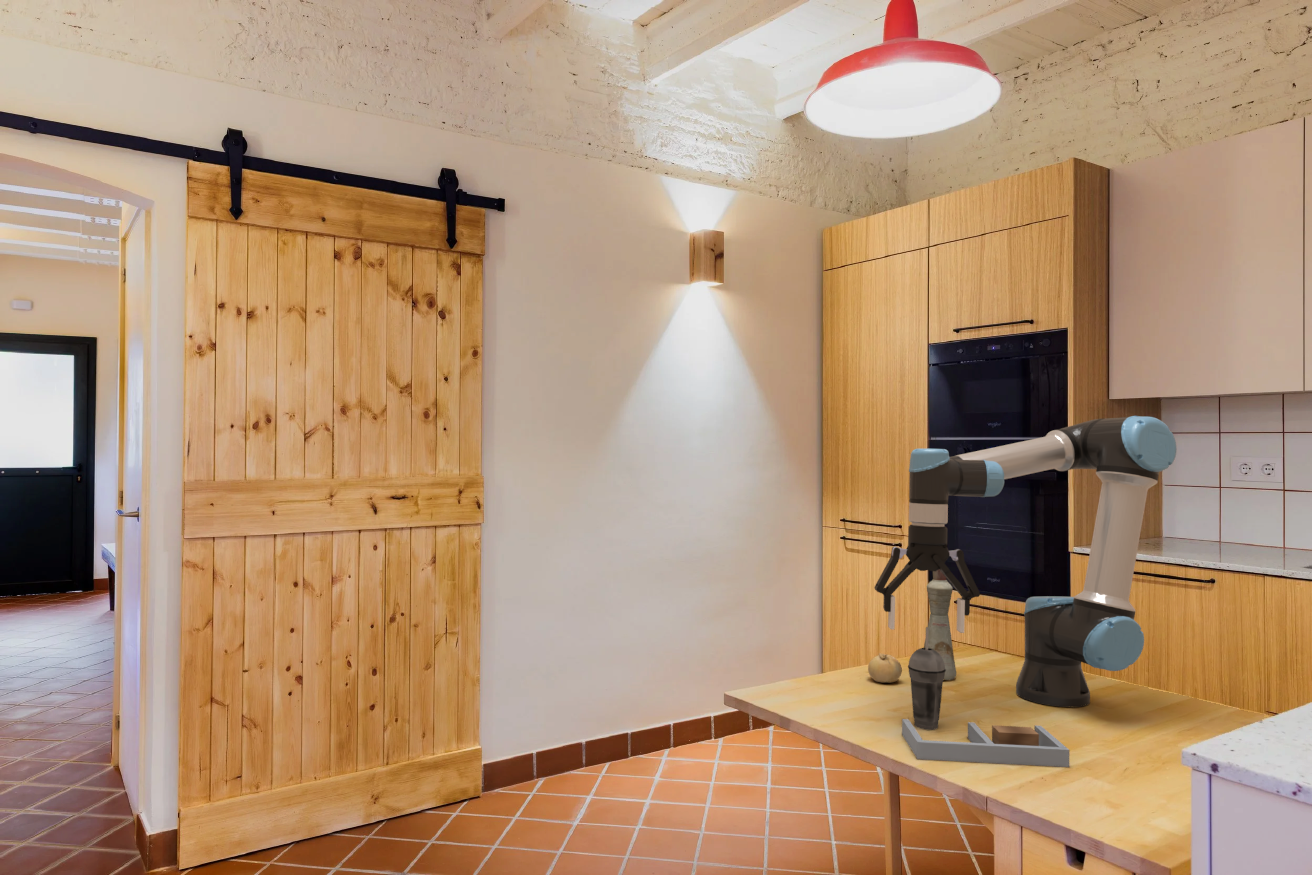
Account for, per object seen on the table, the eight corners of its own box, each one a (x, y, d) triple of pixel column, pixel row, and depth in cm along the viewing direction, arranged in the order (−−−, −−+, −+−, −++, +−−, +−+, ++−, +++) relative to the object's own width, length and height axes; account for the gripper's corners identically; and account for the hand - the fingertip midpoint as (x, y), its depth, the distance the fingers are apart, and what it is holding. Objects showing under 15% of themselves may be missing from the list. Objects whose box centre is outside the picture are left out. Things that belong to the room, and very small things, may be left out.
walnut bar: (1030, 748, 150) (1030, 726, 150) (1038, 756, 146) (1038, 734, 146) (991, 746, 151) (992, 725, 151) (999, 754, 147) (999, 732, 147)
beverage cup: (945, 722, 164) (945, 624, 164) (945, 733, 157) (946, 631, 157) (907, 718, 166) (908, 621, 167) (906, 729, 159) (907, 627, 160)
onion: (862, 677, 198) (863, 648, 198) (893, 676, 199) (894, 648, 199) (875, 686, 190) (875, 656, 190) (907, 685, 191) (907, 655, 191)
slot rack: (1040, 741, 153) (1040, 725, 154) (1069, 766, 141) (1069, 749, 141) (901, 734, 156) (902, 718, 156) (917, 758, 143) (917, 741, 143)
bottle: (920, 680, 196) (921, 565, 197) (918, 671, 205) (919, 561, 205) (958, 683, 193) (959, 567, 194) (954, 674, 202) (955, 562, 203)
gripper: (985, 525, 165) (983, 629, 164) (862, 520, 167) (859, 622, 167) (997, 528, 158) (995, 636, 157) (868, 523, 160) (865, 630, 159)
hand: (925, 629), depth 162 cm, fingers open, 13 cm apart
